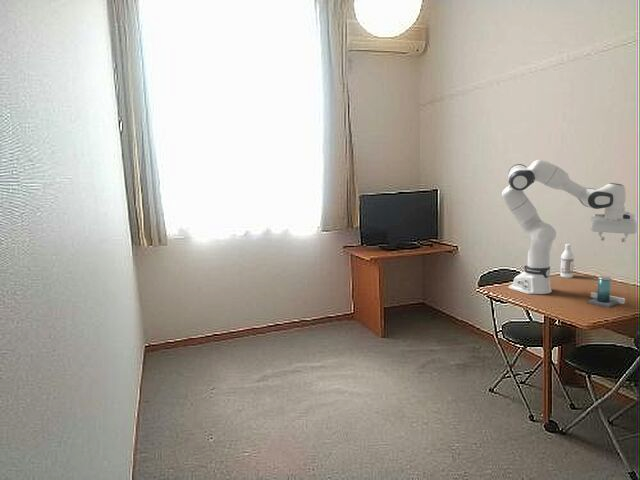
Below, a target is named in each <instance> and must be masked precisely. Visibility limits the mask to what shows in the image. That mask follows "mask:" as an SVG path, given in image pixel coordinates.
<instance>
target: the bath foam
mask: <svg viewBox="0 0 640 480" xmlns="http://www.w3.org/2000/svg"><path fill="white" fill-rule="evenodd" d="M571 245H572V244H571V243H566V244H565V245H564V246H565V247H564V251H563V252H562V253H561V255H560V277H561V278H565V279H566V278H567V279H569V278H573V277H574V266H575V265H574V263H575V260H574V259H575V256H574V253H573V252H572V251H571V250H572V249H571Z"/></svg>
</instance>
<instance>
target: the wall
mask: <svg viewBox="0 0 640 480" xmlns="http://www.w3.org/2000/svg"><path fill="white" fill-rule="evenodd" d="M597 293H598V292H594V291H591V292H590V298H591V299H594V298H596V297H597ZM610 299H611V300H616V301H618V304H623V305H625V304H626V297H625V298H624V297H619V296H615V295H610Z"/></svg>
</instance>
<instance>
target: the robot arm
mask: <svg viewBox="0 0 640 480" xmlns="http://www.w3.org/2000/svg"><path fill="white" fill-rule="evenodd" d="M507 179H508V186H506V187H505V188H504V189H503V190H502V191H501V197H502V200H503V201H504V203H505V205H506V206H507V208H508V209H509V211H510V212H511V214H512V215H513V216H514V217H515V219H516V220H517V222H518V223H519V225H520V227H521V229H522V231H523V233H524V234H525V235H526V237H527V238H529V239H530V240H531V242H530V247H529V249H528V251H527V264H526V265H524V266H523V267H522V269H523V271H522V272H520V273H519V274H517V275H516V276H515V277H514V278H513V282H512V283H511V284H509V286H508V289H510V290H513V291H517V292H521V293H524V294H528V295H546V294H547V295H548V294H550V293H552V291H553V290H552V288H551V282H550V275H551V266H550V256H551V255H550V254H551V249H552V245H553V242H554V240H555V239H556V238H557V231H556V229H555V227H554V226H552V225H551V224H549V223H546V222H544V220H542V219H541V217H540V216H539V213H538V212H537V208H536V207H535V205H534V204H533V203H532V201H531V199H529V197H528V196H527V195H526V193H525V192H524V190H526V189H527V188H529V186H531V185H532V184H533V183H535V181H536V182H539V183H541V184H543V185H545V186H546V187H547V188H548V187H549V188H551V189H554V190H559V191H560V190H561V191H564V192H567V193H568V194H569V195H571V196H573V197H575V198H577V200H579V202H580V203H581V204H582V205H583V206H585V208H586V207H587V208H590V209H594V210H600V209H604V214H603V213H600V214H598V213H594V214H593V215H592V216H591V228H590V229H591V230H590V231H592V232H594V233H595V232H596V233H598V235H599V237H600V241H602V242H603V241H605V236H603V235H602V234H603V233H609V234H610V233H613V234H624V237H623V238H622V237H621V243H625V242H626V239H627V238H628V236H629V235H636V233H637V232H638V225H637V220H636V219H635V218H636V215H635V213H631V212H629V211H626V208H625V203H626V195H627V194H626V187H625V185H624V184H620V183H614V182H609V183H606V185H603V186H601V188H598V189H596V188H592V187H591V188H590V187H585V186H582V185H580V184H579V183H578V182H576V181H574V180H572V179H571V178H570V176H569V173H568V172H567V171H565V170H564V169H563V168H561V167H560V166H557V165H556V164H554V163H551V162H549V161H547V160H543V159H536V160H534V161H533V162H532V163H530V165H529V166H528V167H527V166H526V165H524V164H523V163H522V164H521V163H517V164H513V165H512V166H511V167H510V168H509V170H508V173H507Z"/></svg>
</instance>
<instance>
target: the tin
mask: <svg viewBox="0 0 640 480" xmlns="http://www.w3.org/2000/svg"><path fill="white" fill-rule="evenodd" d="M597 279H598V280H597V292H596V293H597V301H598V302H603V303H608V302H609V301H610V296H611V285H612V284H611V282H612V278H611V277H610V276H606V275H605V276H603V275H602V276H601V275H600V276H598V277H597Z"/></svg>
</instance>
